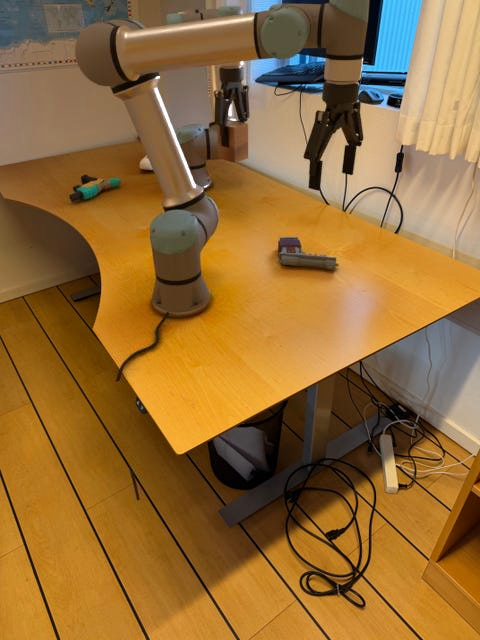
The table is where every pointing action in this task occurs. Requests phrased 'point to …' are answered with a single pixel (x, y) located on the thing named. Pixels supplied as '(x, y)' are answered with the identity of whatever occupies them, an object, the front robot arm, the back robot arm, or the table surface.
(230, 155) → the block
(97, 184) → the toy gun
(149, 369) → the table surface
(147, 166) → the sneaker
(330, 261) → the toy gun
